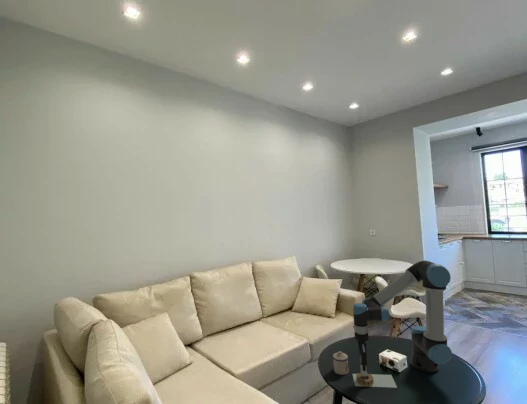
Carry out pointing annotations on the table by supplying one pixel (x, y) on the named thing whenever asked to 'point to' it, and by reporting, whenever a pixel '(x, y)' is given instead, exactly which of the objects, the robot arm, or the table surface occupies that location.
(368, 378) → the wooden ring
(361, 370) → the birch dowel
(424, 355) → the robot arm
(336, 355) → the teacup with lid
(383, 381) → the felt mat
